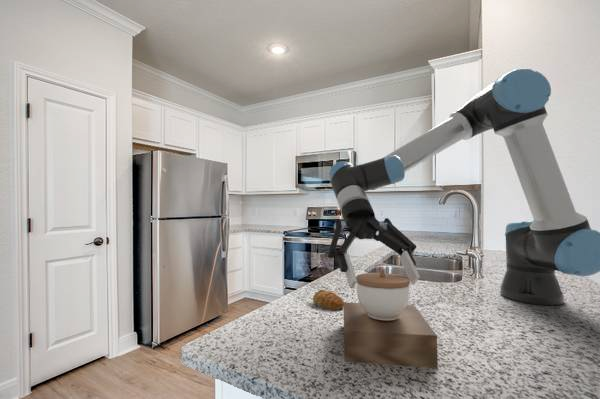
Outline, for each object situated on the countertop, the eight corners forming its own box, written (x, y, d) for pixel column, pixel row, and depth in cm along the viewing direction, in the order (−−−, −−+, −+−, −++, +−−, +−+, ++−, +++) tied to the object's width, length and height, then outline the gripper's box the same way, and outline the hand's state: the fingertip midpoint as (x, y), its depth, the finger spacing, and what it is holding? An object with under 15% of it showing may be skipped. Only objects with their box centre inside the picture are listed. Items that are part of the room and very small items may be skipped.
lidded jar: (414, 327, 53) (413, 275, 54) (354, 322, 56) (354, 272, 57) (407, 309, 64) (406, 266, 65) (357, 306, 66) (357, 264, 67)
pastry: (350, 307, 82) (350, 294, 82) (333, 313, 78) (333, 299, 78) (326, 299, 89) (326, 287, 89) (310, 304, 85) (309, 291, 85)
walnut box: (414, 331, 67) (414, 305, 67) (437, 370, 51) (437, 335, 51) (343, 328, 69) (343, 302, 69) (344, 364, 53) (344, 330, 53)
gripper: (395, 217, 79) (432, 288, 64) (305, 218, 74) (322, 296, 59) (405, 196, 74) (448, 268, 59) (309, 197, 69) (329, 275, 54)
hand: (385, 282), depth 59 cm, fingers open, 13 cm apart
